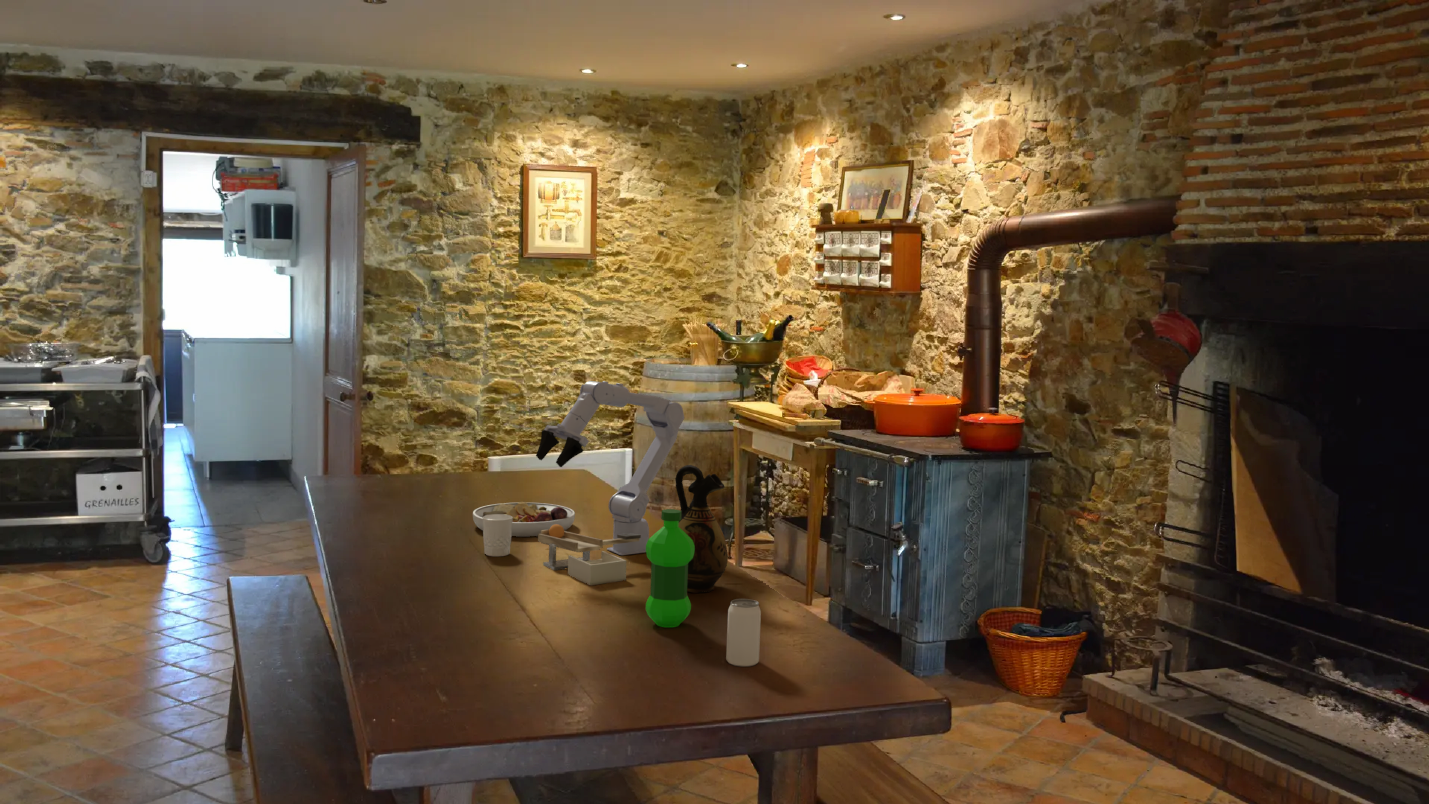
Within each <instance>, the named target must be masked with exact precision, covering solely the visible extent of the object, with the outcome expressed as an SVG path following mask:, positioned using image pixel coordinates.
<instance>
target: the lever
mask: <svg viewBox="0 0 1429 804" xmlns="http://www.w3.org/2000/svg"><path fill="white" fill-rule="evenodd" d="M563 529H564V528H563ZM639 538H641V535H639V534H634V533H627V534H618V535H617V539H613V538H610V539H600V538H598V537H597V538H596V537H593V536H588V535H584V534H579V533H575V532H571V531H567V530H565V531H564V535H563V536H562V538H556V537H552V536H550V535H549V530H541V534H538V536H537V541H538V542H539V543H541V544H543V545H547V546H549V544H555V545H556V548H559V549H562V550H563V549H564V550H567V551H570V552H575V553H583V552H586V551H590V552H595V551H600V550H601V548H603V547H604V546H610V545H613V544H620V543H628V542H636V541H639Z"/></svg>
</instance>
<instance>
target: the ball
mask: <svg viewBox="0 0 1429 804" xmlns="http://www.w3.org/2000/svg"><path fill="white" fill-rule="evenodd" d="M549 535H550V536H552V537H556V538H562V536H563V535H564V529H563V527H562V526H561V525H558V524H555V525H552V526H551V527H550V529H549Z"/></svg>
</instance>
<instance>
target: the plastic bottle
mask: <svg viewBox="0 0 1429 804" xmlns="http://www.w3.org/2000/svg"><path fill="white" fill-rule="evenodd" d="M680 510H681V509H680ZM680 510H679V509H675V508H674V509H673V508H672V509H671V508H669V509H668V508H667V509H662V510H661V513H660V515H661V520H662V521H663V526H662V527H660V529H659V530H657V531H656V532H655V533H653V534H652V536H649V539H648V542H647V544H646V552H645V553H646V558H647V559H648V560H649V561H650V562H651V565H650V566H651V567H650V592H649V593H650V594H649V596H648V598H647V600H646V602H645V611H646V615H647V616H648V617H649V618H650V619H651V620H652V621H653V622H654V623H655V625H657V627H661V628H676V627H679V626H680V624H681V623H683V622H684V621H685V620H686V618H688V616H689V615H690V613H691V610H692V603H691V600H690V599H689V596H688V591H687V580H688V563H689V562H690V561H691V559H692V558H693V556H694V551H695V546H694V543H693V540H692V539H691V538H690V537H689V536H688V535H687V534H686V533H685V532H684V531H683V530H682V529H680V528H679V527H678V526H679V521H680V520H681V511H680Z"/></svg>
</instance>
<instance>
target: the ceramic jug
mask: <svg viewBox="0 0 1429 804" xmlns="http://www.w3.org/2000/svg"><path fill="white" fill-rule="evenodd" d="M687 475H693V476H695V480H694V481H692V483H691V484H690V485H689V486H688V489H687V490H688V492H689V493H691V494H693V497H692V500H691V502H690V504H689V506H688V501H687V498H686V497H687V496H686V494H685V489H684V483H683V481H684V476H687ZM724 488H725V484H724V483H723V482H722V481H721V479H720V477H719V476H718V475H716V474H715V473H711V474H707V475H706V476H705V477H704V474H703V472H702V470H701V469H700V468H699V467H697V466H694V465H692V464H687V465H684V466H681V467H680V468H679V469H678V470H677V472H676V475H675V491H676V493H677V497H678V500H679V506H680V511H681V520H680V521H679V526H678V527H679V528H680V529H682V530H683V531H684V532H685V533H686V534H687V535H688V536H689V537H690V538H691V539H692V540H693V543H694V546H695V551H694V556H693V558H692V559H691V561H690V562H689V563H688V580H687V593H688V592H689V593H693V594H701V593H711V592H712V591H714V589H715V585H716V583H717V582H718V581H719V580H720V578H721V577H722V576H723V574H724V573H725V571H726V569H727V566H728V560H729V559H728V558H729V555H728V554H729V553H728V548H727V541H726V538H725V535H724V533H723V531H722V528H721V526H720V524H719V523H718V521H717V519H716V517H715V515H714V514H713V512H712V511H711V508H710V506H709V505H708V501H707V500H708V499H707V498H708V496H709V494H711V493H713V492H716V491H720V490H722V489H723V490H724Z"/></svg>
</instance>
